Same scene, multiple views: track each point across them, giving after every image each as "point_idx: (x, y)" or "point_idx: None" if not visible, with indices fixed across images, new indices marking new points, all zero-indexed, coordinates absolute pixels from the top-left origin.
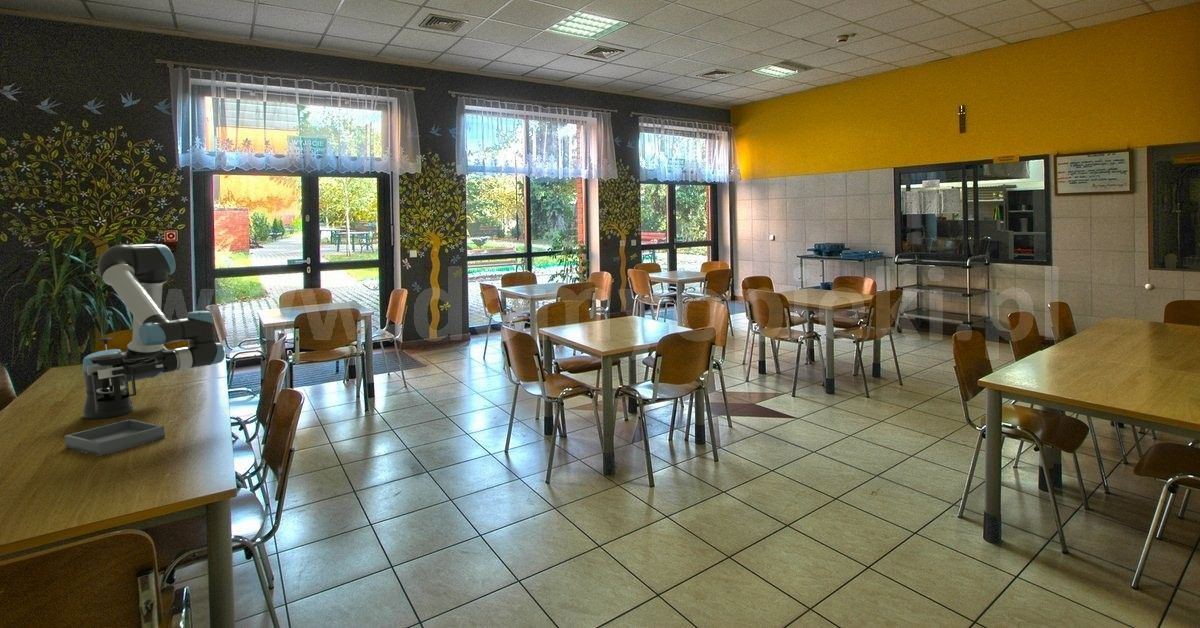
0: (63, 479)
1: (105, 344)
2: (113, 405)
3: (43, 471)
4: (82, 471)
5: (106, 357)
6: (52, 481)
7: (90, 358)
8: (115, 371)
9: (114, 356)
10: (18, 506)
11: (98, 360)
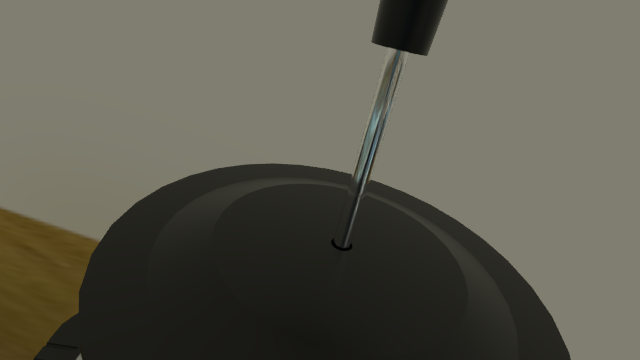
0: (38, 307)
1: (386, 51)
2: None
3: None
4: (30, 355)
5: (229, 198)
6: (61, 293)
7: (393, 190)
8: (59, 333)
9: (199, 260)
10: (7, 220)
11: (227, 170)
